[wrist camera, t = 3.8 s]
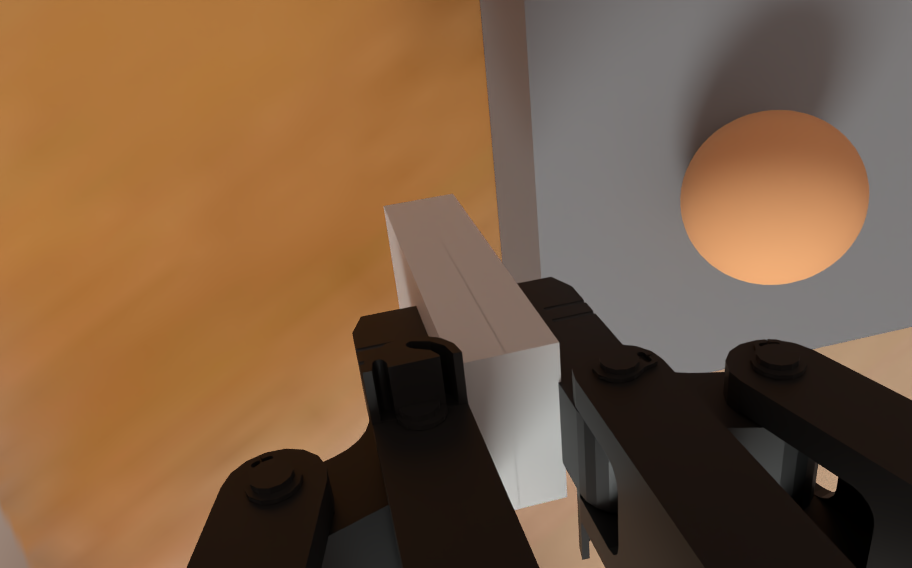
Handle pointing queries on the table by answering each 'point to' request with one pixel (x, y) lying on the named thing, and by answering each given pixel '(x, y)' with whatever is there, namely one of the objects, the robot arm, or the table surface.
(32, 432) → the table surface
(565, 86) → the deck
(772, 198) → the ball
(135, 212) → the table surface
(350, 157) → the table surface
